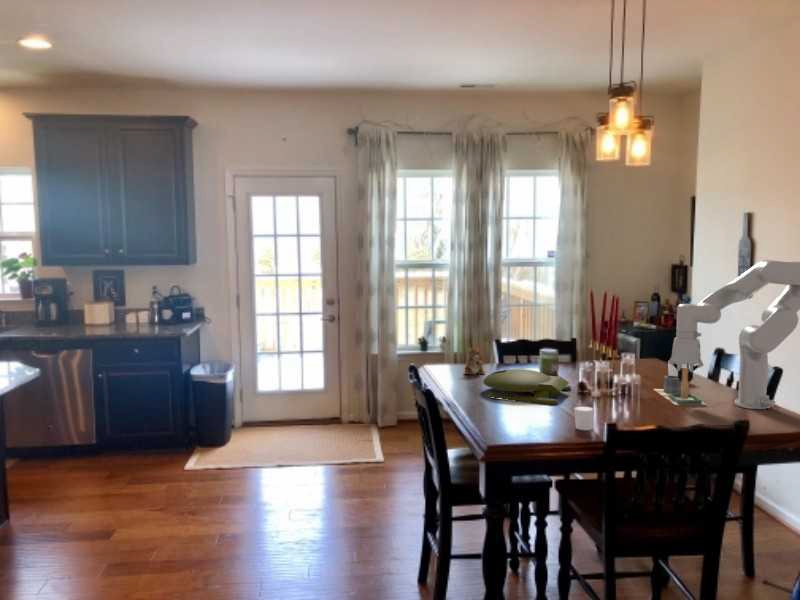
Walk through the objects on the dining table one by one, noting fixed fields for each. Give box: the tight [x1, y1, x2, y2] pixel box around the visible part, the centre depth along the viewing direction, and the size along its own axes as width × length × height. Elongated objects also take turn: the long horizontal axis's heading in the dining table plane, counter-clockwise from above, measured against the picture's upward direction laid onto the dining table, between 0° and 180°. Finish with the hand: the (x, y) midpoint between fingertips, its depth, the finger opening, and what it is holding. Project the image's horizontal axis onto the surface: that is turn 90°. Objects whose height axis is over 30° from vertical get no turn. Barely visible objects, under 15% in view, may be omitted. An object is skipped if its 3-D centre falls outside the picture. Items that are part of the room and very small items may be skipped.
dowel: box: [681, 367, 690, 399], centre depth 254 cm, size 3×3×12 cm
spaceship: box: [482, 368, 572, 406], centre depth 274 cm, size 35×31×10 cm
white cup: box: [667, 360, 688, 376], centre depth 287 cm, size 8×8×10 cm
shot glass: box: [573, 405, 595, 431], centre depth 224 cm, size 7×7×7 cm
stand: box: [653, 375, 708, 408], centre depth 261 cm, size 26×12×8 cm, turn 177°
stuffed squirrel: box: [464, 347, 486, 375], centre depth 316 cm, size 10×14×13 cm
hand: (685, 380), depth 254 cm, fingers closed on dowel, 2 cm apart
